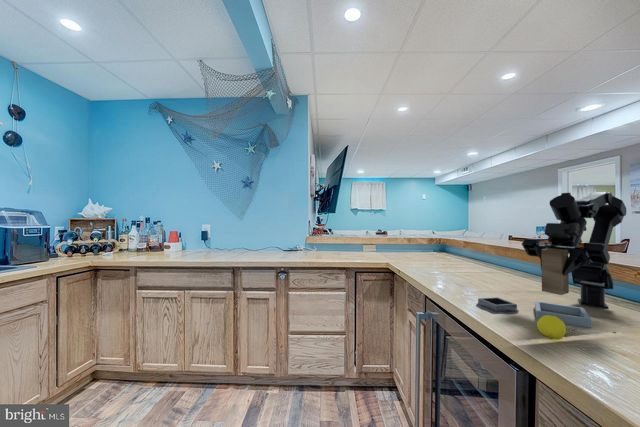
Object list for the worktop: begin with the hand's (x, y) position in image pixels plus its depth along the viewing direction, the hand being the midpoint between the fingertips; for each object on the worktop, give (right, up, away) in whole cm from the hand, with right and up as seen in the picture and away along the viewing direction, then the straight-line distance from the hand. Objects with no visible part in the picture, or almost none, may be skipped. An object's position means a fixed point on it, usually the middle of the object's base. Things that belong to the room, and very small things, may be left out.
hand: (552, 272), depth 77 cm
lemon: (-10, -13, -11) cm, 20 cm away
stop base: (-11, -13, +7) cm, 19 cm away
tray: (+2, -13, 0) cm, 14 cm away
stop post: (+1, -6, +1) cm, 6 cm away
